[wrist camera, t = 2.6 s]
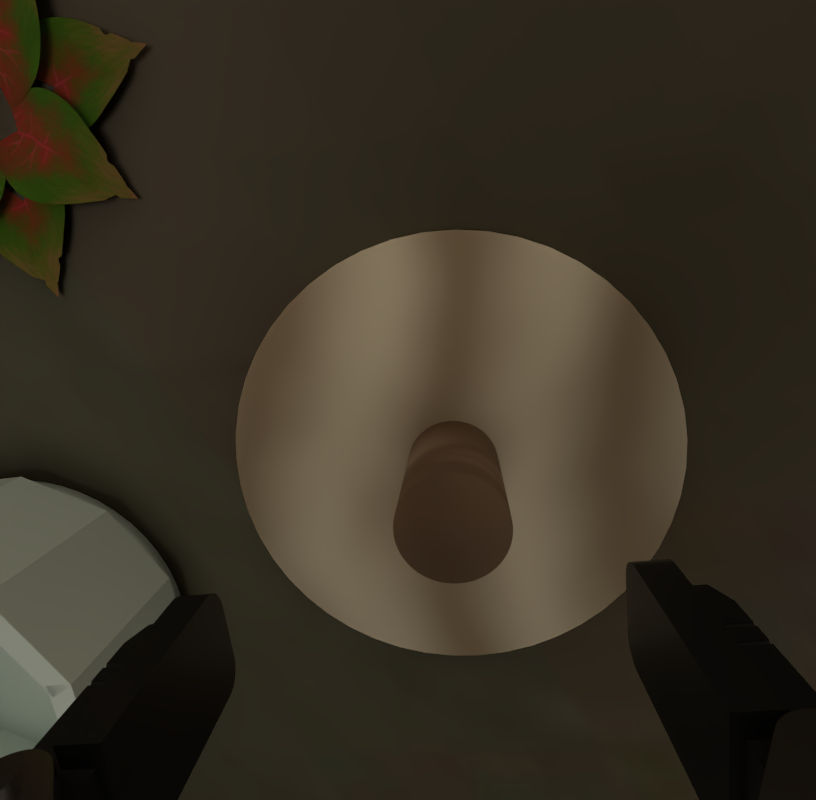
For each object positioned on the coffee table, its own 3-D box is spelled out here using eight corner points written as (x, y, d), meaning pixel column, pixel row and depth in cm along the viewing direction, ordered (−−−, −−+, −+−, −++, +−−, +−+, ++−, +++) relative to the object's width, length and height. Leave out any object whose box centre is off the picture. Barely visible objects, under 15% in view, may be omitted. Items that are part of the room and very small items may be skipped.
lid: (668, 195, 17) (774, 159, 12) (682, 624, 21) (769, 761, 15) (203, 269, 19) (94, 269, 13) (290, 650, 23) (233, 781, 17)
